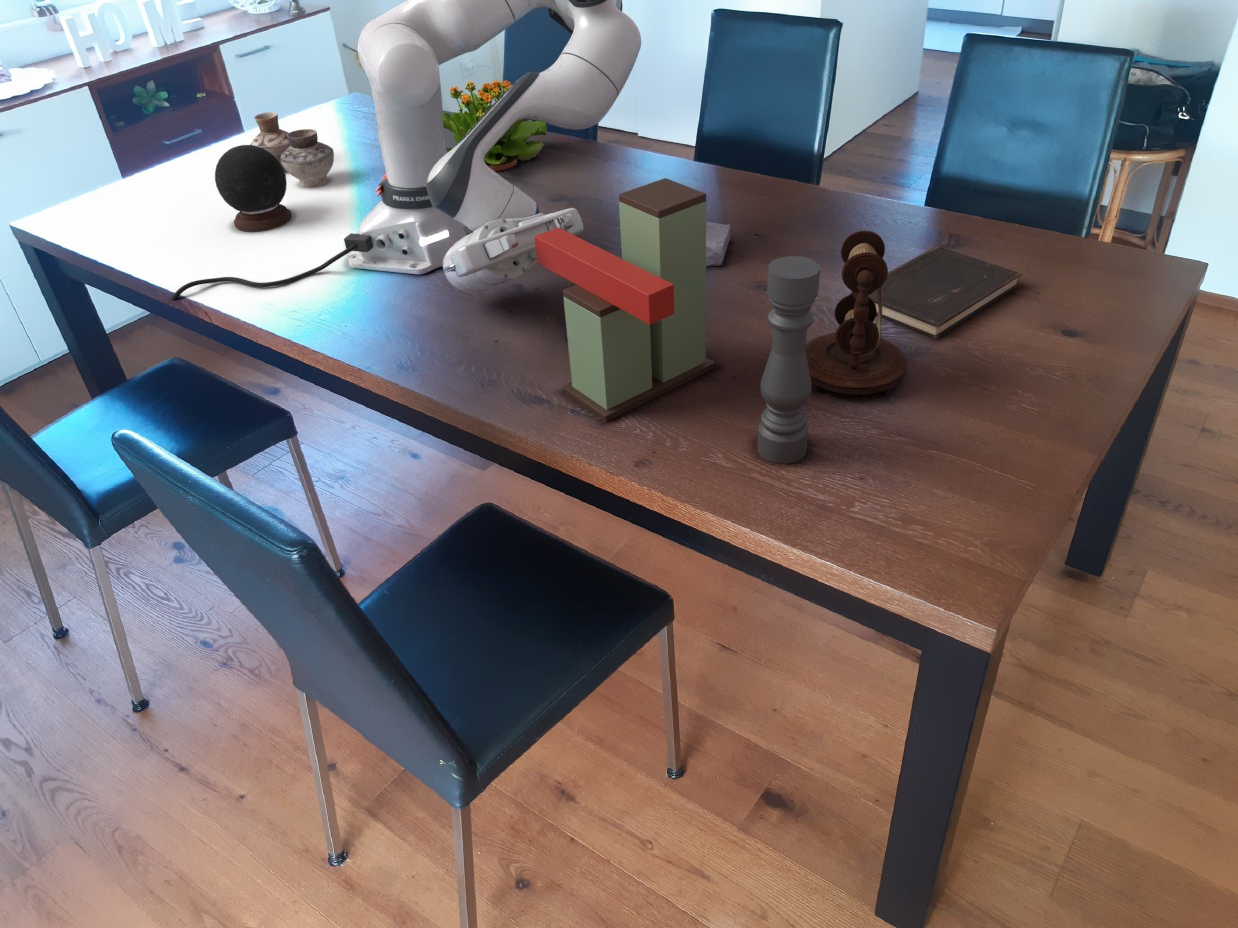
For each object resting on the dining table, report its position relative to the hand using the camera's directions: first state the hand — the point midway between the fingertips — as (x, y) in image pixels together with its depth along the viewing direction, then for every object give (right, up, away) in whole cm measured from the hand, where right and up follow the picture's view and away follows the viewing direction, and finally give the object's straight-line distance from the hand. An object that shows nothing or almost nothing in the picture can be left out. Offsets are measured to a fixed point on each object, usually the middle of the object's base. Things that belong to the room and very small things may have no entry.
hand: (540, 230), depth 125 cm
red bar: (+8, -9, -6) cm, 14 cm away
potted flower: (-17, +35, +79) cm, 88 cm away
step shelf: (+14, -20, +6) cm, 25 cm away
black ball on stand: (-62, +17, +61) cm, 88 cm away
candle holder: (+31, -30, -9) cm, 44 cm away
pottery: (-62, +33, +81) cm, 107 cm away
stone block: (+25, +6, +38) cm, 46 cm away
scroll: (+43, -19, +4) cm, 48 cm away
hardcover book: (+61, -5, +21) cm, 65 cm away
